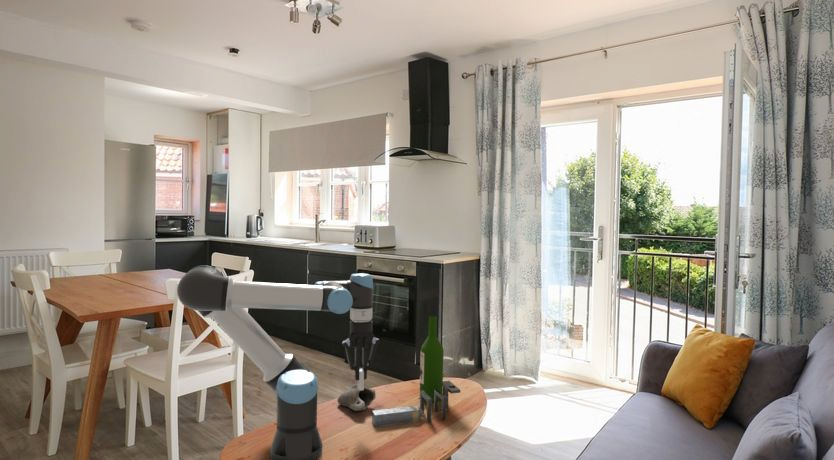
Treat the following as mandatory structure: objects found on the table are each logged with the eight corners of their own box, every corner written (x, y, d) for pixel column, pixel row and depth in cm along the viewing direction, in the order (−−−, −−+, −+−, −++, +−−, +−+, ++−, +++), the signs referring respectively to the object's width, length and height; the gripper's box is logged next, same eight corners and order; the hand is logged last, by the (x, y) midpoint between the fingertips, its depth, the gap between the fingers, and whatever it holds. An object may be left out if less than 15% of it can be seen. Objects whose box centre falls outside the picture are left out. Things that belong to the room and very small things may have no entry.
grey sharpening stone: (375, 427, 164) (375, 415, 163) (371, 422, 167) (372, 410, 167) (424, 420, 170) (424, 409, 170) (420, 415, 174) (420, 404, 173)
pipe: (344, 431, 178) (372, 418, 171) (327, 416, 175) (355, 403, 168) (357, 395, 192) (384, 382, 184) (342, 381, 189) (368, 367, 182)
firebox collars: (428, 422, 168) (428, 394, 167) (417, 410, 178) (418, 383, 177) (460, 418, 172) (461, 390, 172) (448, 407, 182) (449, 380, 182)
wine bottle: (416, 396, 192) (418, 315, 191) (437, 394, 194) (439, 314, 193) (423, 405, 183) (425, 319, 182) (445, 402, 186) (447, 318, 185)
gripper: (344, 323, 157) (343, 395, 158) (383, 321, 161) (382, 390, 162) (339, 318, 164) (339, 387, 165) (377, 316, 168) (376, 383, 169)
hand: (360, 389), depth 164 cm, fingers closed
